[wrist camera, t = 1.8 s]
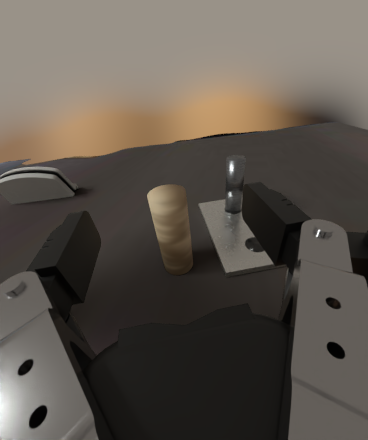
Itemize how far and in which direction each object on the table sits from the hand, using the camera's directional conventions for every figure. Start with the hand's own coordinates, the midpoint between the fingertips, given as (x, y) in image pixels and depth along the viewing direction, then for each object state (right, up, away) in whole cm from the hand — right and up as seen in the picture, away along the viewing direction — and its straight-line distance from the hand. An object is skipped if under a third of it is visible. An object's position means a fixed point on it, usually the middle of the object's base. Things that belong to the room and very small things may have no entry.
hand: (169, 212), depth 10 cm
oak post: (0, -7, +19) cm, 20 cm away
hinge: (-37, +5, +42) cm, 56 cm away
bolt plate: (+11, -2, +24) cm, 26 cm away
